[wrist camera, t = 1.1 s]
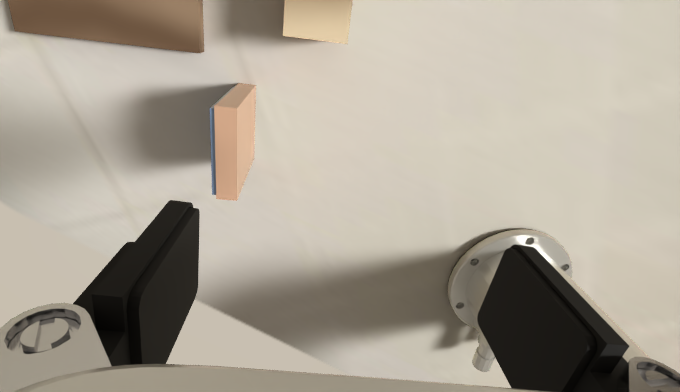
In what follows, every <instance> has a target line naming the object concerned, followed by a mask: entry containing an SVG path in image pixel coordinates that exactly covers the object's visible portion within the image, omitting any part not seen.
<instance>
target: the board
mask: <svg viewBox="0 0 680 392" xmlns="http://www.w3.org/2000/svg"><path fill="white" fill-rule="evenodd" d="M8 3H9V8H10V12H11V16H12V21H13V25H14V29H15V31H18V32H27V33H35V34H43V35H52V36H60V37H69V38H77V39H86V40H94V41H102V42H111V43H119V44H128V45H136V46H145V47H153V48H161V49H170V50H178V51H187V52H195V53H201V52H204V33H203V4H202V0H8Z"/></svg>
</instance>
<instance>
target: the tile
mask: <svg viewBox="0 0 680 392" xmlns="http://www.w3.org/2000/svg"><path fill="white" fill-rule="evenodd" d="M255 104H256V85H251V84H242V83H238V84H237V85H236V86H234V87H232V88H231V89H230V90H229V91H228V92H227V93H226V94H225V95H224V96H223V97H221V98H220V99H219V100H218V101H217V102H216V103H215V104H214V105H213V106H211V107H210V133H211V166H212V195H216V199H223V200H236V201H237V200H238V197H239V195H240V192H241V190H242V187H243V185H244V182H245V180H246V177H247V175H248V172H249V170H250V167H251V165H252V162H253V160H254V148H255Z"/></svg>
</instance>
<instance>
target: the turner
mask: <svg viewBox="0 0 680 392" xmlns="http://www.w3.org/2000/svg"><path fill="white" fill-rule="evenodd" d="M351 9H352V0H285V3H284V23H283V36H288V37H296V38H303V39H311V40H319V41H327V42H335V43H343V44H347V42H348V34H349V25H350V17H351Z"/></svg>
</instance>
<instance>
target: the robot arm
mask: <svg viewBox="0 0 680 392" xmlns="http://www.w3.org/2000/svg"><path fill="white" fill-rule="evenodd" d="M198 258H199V209H196V208H193V205H192V203H189V202H181V201H173V200H170V201H169V202H168V203H167V204H166V205H165V207H164V208H163V209H162V210H161V211H160V213H159V214H158V215H157V216H156V217H155V219H154V220H153V221H152V222H151V223H150V225H149V226H148V227H147V228H146V229H145V231H144V232H143V233H142V234H141V235H140V237H139V238H138V239H137V240H136V241H135V242H127V243H126V244H125V245H124V246H123V247H122V248H121V249H120V250H119V252H118V253H117V254H116V255H115V256H114V257H113V258H112V260H111V261H110V262H109V263H108V264H107V265H106V266H105V268H104V269H103V270H102V271H101V272H100V273H99V275H98V276H97V277H96V278H95V279H94V280H93V282H92V283H91V284H90V285H89V286H88V287H87V288H86V290H85V291H84V292H83V293H82V294H81V295H80V296H79V298H78V299H77V300H76V301H75V302H74V303H73V304H68V303H57V304H49V305H44V306H40V307H36V308H33V309H31V310H28V311H26V312H23V313H21V314H20V315H18V316H16V317H14V318H12V319H11V320H10V321H9V322H7V323H6V324H5V325H4V326H3V327H1V329H0V392H680V374H679V373H678V372H676V371H675V370H673V369H671V368H670V367H668V366H666V365H664V364H663V363H660V362H658V361H655V360H653V359H651V358H650V357H649V356H648V355H647V354H646V353H645V352H644V351H643V350H642V349H641V348H640V347H639V346H638V345H637V344H636V343H635V342H634V341H633V340H632V339H631V338H630V337H629V336H628V335H627V334H626V333H625V332H624V331H623V330H622V329H621V328H620V327H619V326H618V325H617V324H616V323H615V322H614V321H613V320H612V319H611V318H610V317H609V316H608V315H607V314H606V313H605V312H604V311H603V310H602V309H601V308H600V307H599V306H598V305H597V304H596V303H595V302H594V301H593V300H592V299H591V298H590V297H589V296H588V295H587V294H586V293H585V292H584V291H583V290H582V289H581V288H580V287H579V286H578V285H577V284H576V283H575V282H574V281H573V280H572V279H571V278H572V271H573V270H572V262H571V259H570V256H569V254H568V252H567V251H566V250H565V248H564V247H563V246H562V245H561V244H560V243H559V242H558V241H556V240H555V239H554V238H552V237H551V236H549V235H547V234H545V233H542V232H539V231H536V230H527V229H520V230H510V231H505V232H501V233H498V234H495V235H493V236H490V237H488V238H486V239H484V240H483V241H481V242H479V243H477V244H476V245H475V246H473V247H472V248H471V249H469V250H468V251H467V252H466V253H465V254H464V255H463V256H462V257H461V258H460V260H459V261H458V263H457V264H456V266H455V267H454V269H453V271H452V273H451V276H450V278H449V283H448V297H449V301H450V304H451V306H452V308H453V310H454V312H455V314H456V315H457V316H458V317H459V319H460V320H461V321H463V322H464V323H465V324H467V325H468V326H471V327H473V328H475V329H477V331H478V333H479V336H478V343H479V347H478V348H477V349H476V352H475V354H474V357H473V360H472V363H473V365H474V367H475V368H476V369H478V370H480V371H482V372H487V371H489V370H490V368H491V366H492V363H493V361H494V358H495V357H496V359H497V361H498V363H499V365H500V367H501V369H502V371H503V373H504V374H505V376H506V378H507V380H508V382H509V384H510V386H511V388H501V387H489V386H477V385H464V384H451V383H438V382H426V381H413V380H399V379H386V378H373V377H360V376H346V375H332V374H318V373H304V372H303V373H302V372H290V371H276V370H263V369H249V368H234V367H221V366H200V365H174V364H173V365H172V364H166V362H167V360H168V357H169V355H170V353H171V351H172V348H173V346H174V344H175V342H176V339H177V337H178V335H179V333H180V330H181V328H182V326H183V324H184V321H185V319H186V317H187V315H188V313H189V310H190V308H191V306H192V304H193V301H194V299H195V297H196V293H197V288H198Z"/></svg>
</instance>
